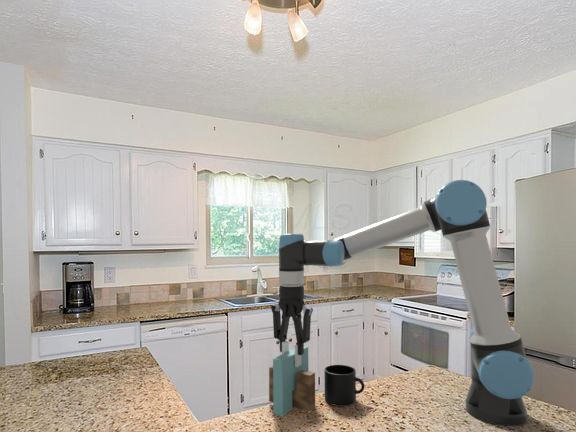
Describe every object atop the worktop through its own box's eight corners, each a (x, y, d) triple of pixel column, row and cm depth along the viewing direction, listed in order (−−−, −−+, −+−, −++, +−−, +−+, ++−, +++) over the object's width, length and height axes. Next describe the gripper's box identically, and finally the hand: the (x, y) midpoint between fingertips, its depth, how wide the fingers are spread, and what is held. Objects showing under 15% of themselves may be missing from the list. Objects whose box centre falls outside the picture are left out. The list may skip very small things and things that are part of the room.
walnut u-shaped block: (315, 407, 112) (315, 372, 113) (310, 411, 110) (310, 375, 110) (274, 397, 119) (274, 364, 120) (269, 401, 117) (269, 367, 117)
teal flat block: (300, 394, 122) (299, 345, 123) (308, 396, 121) (308, 346, 122) (273, 413, 108) (273, 358, 109) (282, 416, 107) (282, 360, 108)
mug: (363, 409, 111) (362, 376, 112) (322, 404, 114) (321, 373, 115) (365, 396, 120) (365, 366, 121) (327, 392, 124) (327, 363, 124)
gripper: (322, 285, 116) (322, 365, 114) (274, 282, 124) (274, 357, 123) (310, 288, 109) (310, 373, 108) (261, 284, 118) (261, 363, 116)
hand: (291, 364), depth 115 cm, fingers open, 4 cm apart
